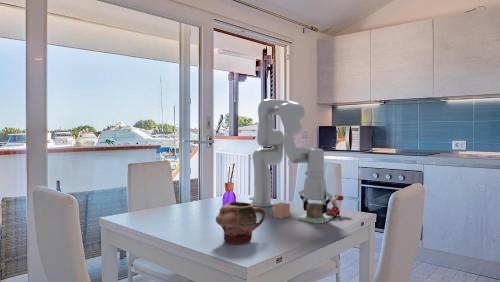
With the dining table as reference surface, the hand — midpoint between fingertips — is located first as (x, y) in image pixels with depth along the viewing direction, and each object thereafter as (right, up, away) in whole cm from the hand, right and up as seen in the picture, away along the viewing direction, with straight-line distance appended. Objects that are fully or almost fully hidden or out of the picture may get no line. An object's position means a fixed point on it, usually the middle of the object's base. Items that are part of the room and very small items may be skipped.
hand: (315, 211), depth 174 cm
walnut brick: (0, -2, 0) cm, 2 cm away
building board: (0, -4, 0) cm, 4 cm away
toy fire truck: (+11, -4, +8) cm, 14 cm away
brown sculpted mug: (-34, -4, -35) cm, 48 cm away
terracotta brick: (-15, -4, +7) cm, 17 cm away
